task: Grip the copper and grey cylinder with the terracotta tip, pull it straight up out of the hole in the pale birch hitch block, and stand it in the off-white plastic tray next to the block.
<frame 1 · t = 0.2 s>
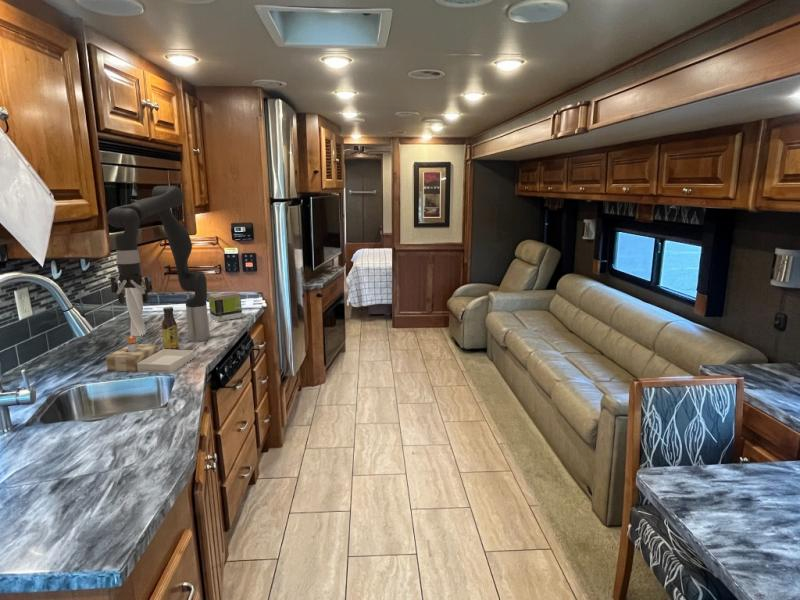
hand: (133, 303, 184), 28 cm above the worktop, tool pointing down, fingers open, 8 cm apart
hitch block: (134, 364, 199), on the worktop
sauce bottle: (171, 350, 217), on the worktop
tray: (167, 364, 198), on the worktop
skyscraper: (138, 335, 239), on the worktop
tea box: (226, 319, 271), on the worktop
copper and grey cylinder: (132, 350, 197), in the hitch block
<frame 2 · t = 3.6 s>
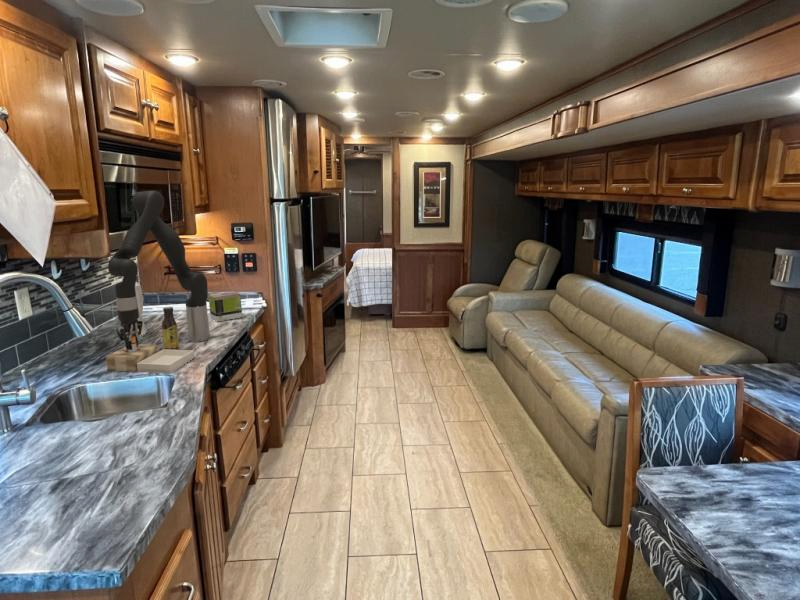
hand: (132, 347, 197), 7 cm above the worktop, tool pointing down, fingers closed on copper and grey cylinder, 3 cm apart
copper and grey cylinder: (132, 350, 197), in the hitch block, touching gripper
everything else where it was.
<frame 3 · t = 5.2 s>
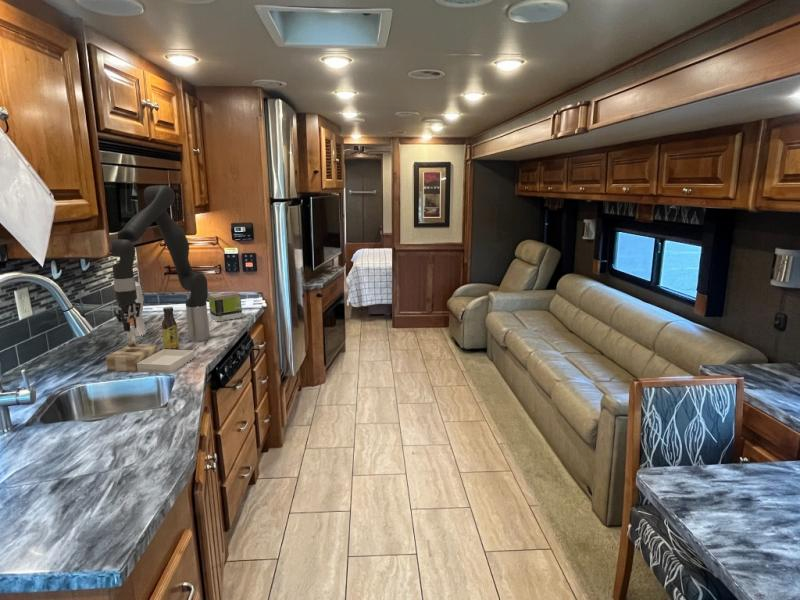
hand: (130, 329, 195), 15 cm above the worktop, tool pointing down, fingers closed on copper and grey cylinder, 3 cm apart
copper and grey cylinder: (130, 332, 196), point 14 cm above the worktop, touching gripper
everything else where it was.
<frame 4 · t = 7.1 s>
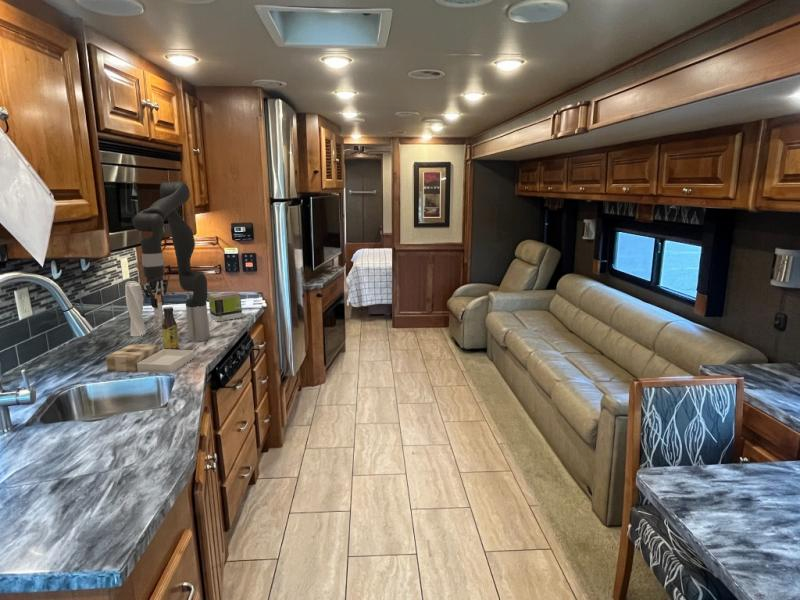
hand: (157, 306, 193), 25 cm above the worktop, tool pointing down, fingers closed on copper and grey cylinder, 3 cm apart
copper and grey cylinder: (158, 309, 193), point 24 cm above the worktop, touching gripper
everything else where it was.
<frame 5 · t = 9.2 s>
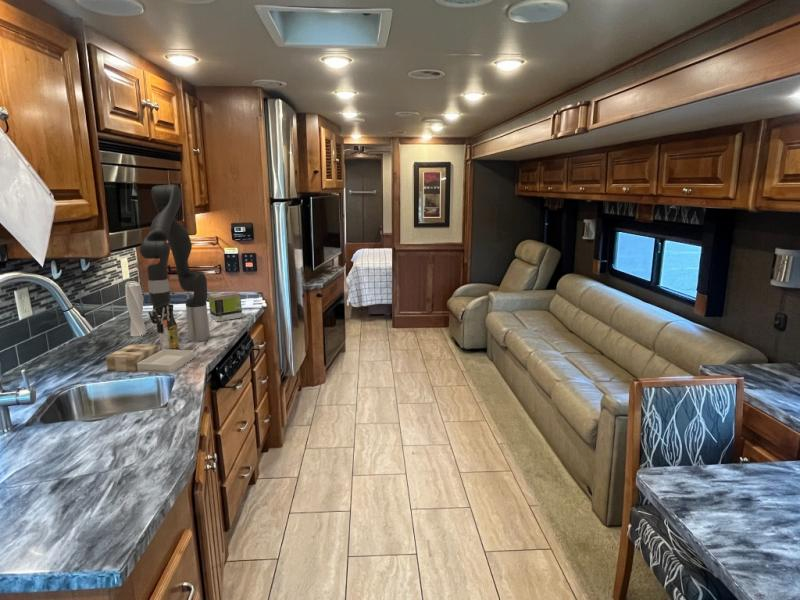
hand: (163, 331, 195), 15 cm above the worktop, tool pointing down, fingers closed on copper and grey cylinder, 3 cm apart
copper and grey cylinder: (163, 334, 195), point 13 cm above the worktop, touching gripper
everything else where it was.
when the fingers open (10 cm above the worktop, at t = 10.9 s): copper and grey cylinder drops 1 cm, resting on tray.
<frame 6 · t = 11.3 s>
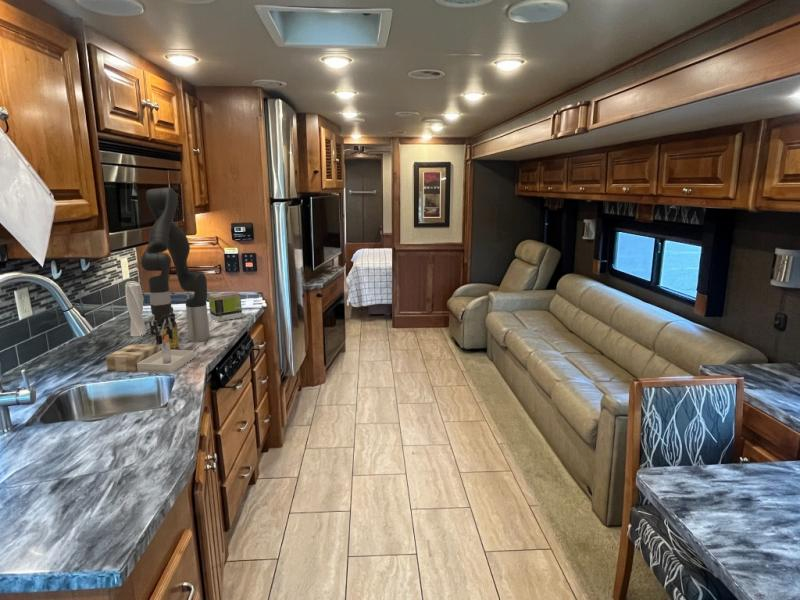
hand: (164, 341, 196), 10 cm above the worktop, tool pointing down, fingers open, 6 cm apart
copper and grey cylinder: (165, 348, 197), in the tray, point 7 cm above the worktop
everything else where it was.
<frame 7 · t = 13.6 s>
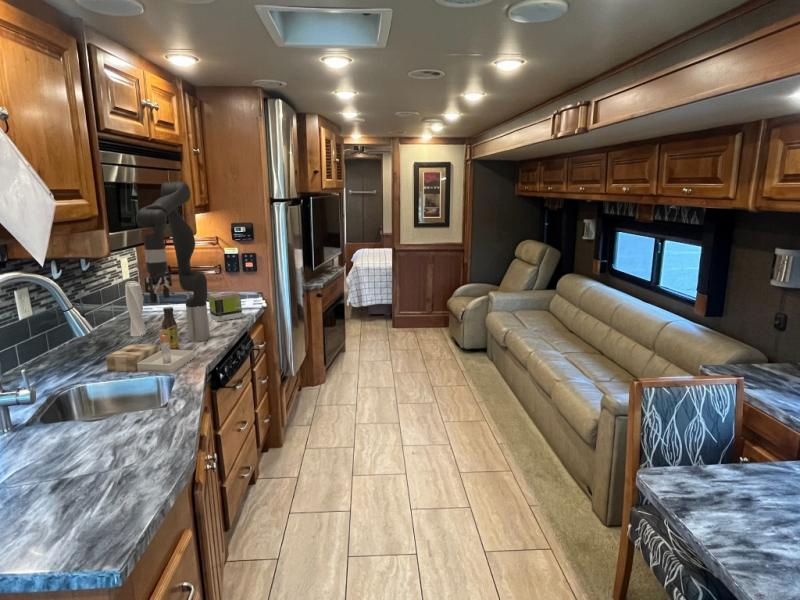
hand: (160, 300, 192), 28 cm above the worktop, tool pointing down, fingers open, 8 cm apart
nothing on the worktop moved.
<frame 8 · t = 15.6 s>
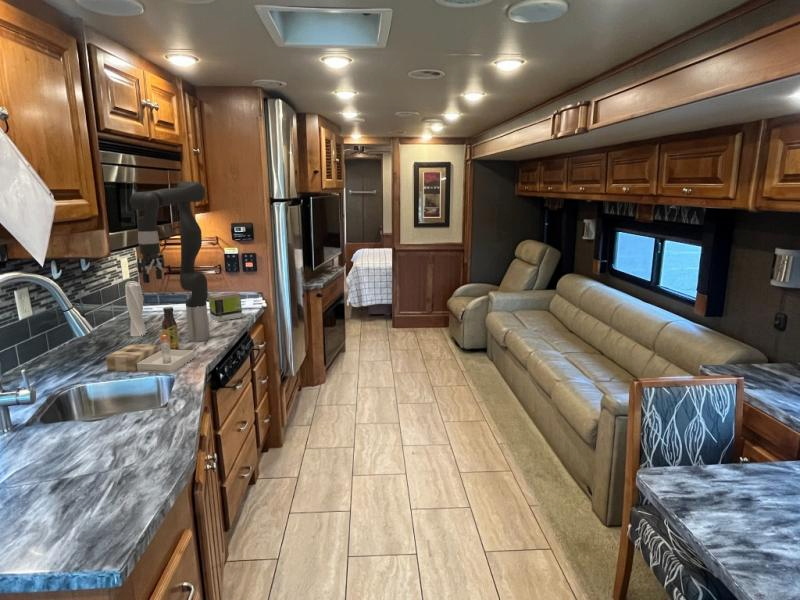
hand: (153, 281, 198), 34 cm above the worktop, tool pointing down, fingers open, 8 cm apart
nothing on the worktop moved.
at the end: copper and grey cylinder inside the target area on the tray (0.1 cm from its centre), point 7.0 cm above the tray's base; the gripper is holding nothing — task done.
